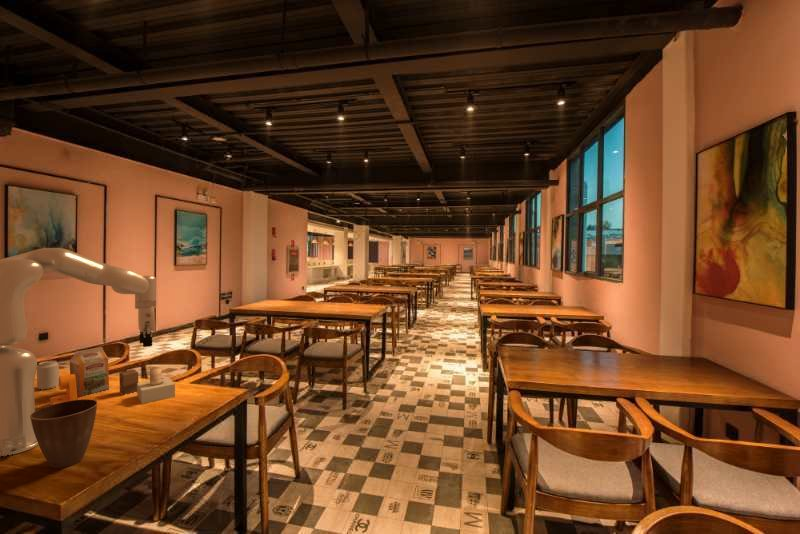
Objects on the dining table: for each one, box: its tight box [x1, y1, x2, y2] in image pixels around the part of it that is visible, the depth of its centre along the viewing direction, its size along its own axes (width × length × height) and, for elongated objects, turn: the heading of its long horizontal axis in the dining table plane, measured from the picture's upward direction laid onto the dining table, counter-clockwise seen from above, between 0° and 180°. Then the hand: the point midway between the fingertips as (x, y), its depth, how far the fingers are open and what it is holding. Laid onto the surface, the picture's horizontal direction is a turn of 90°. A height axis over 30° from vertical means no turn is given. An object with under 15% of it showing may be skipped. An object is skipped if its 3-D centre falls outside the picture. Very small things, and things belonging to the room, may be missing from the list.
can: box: [36, 360, 60, 391], centre depth 177 cm, size 8×8×12 cm
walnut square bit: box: [118, 369, 139, 396], centre depth 171 cm, size 6×6×9 cm
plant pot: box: [30, 398, 98, 469], centre depth 113 cm, size 15×15×16 cm
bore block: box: [136, 377, 176, 405], centre depth 166 cm, size 12×12×6 cm
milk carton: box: [69, 346, 110, 398], centre depth 172 cm, size 11×11×19 cm
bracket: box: [49, 374, 79, 405], centre depth 156 cm, size 11×7×12 cm, turn 49°
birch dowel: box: [149, 367, 162, 386], centre depth 166 cm, size 4×4×12 cm
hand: (145, 344), depth 164 cm, fingers open, 9 cm apart
